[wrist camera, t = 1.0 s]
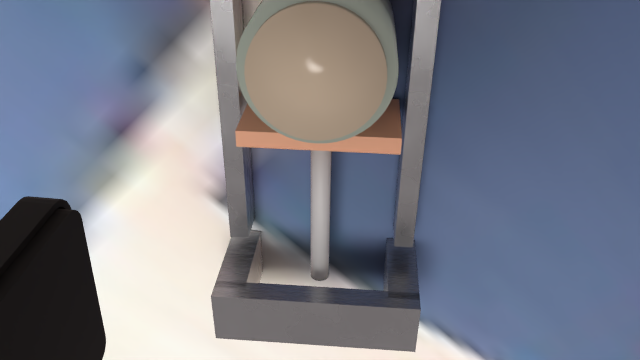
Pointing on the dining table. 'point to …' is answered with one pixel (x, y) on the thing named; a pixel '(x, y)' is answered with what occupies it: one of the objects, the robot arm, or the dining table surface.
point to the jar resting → (319, 66)
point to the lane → (245, 245)
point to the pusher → (323, 166)
